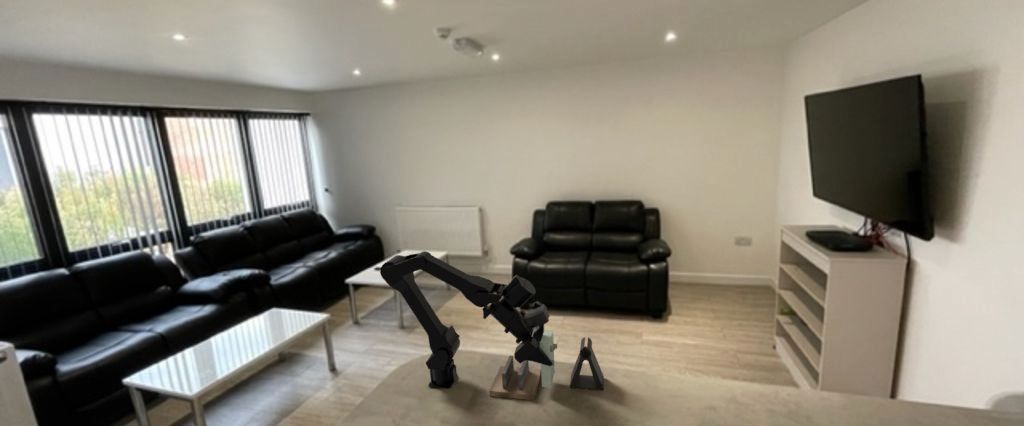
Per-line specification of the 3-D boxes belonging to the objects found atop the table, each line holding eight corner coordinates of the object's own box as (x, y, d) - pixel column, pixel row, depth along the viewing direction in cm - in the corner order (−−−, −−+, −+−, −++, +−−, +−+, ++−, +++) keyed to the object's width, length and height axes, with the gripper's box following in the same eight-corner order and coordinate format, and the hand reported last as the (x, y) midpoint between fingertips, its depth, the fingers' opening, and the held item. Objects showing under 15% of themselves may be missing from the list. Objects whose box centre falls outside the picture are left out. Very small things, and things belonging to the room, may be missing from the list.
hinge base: (489, 395, 113) (488, 375, 112) (501, 370, 124) (499, 351, 123) (534, 400, 110) (533, 379, 109) (541, 373, 122) (540, 354, 120)
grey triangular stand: (603, 377, 118) (603, 338, 116) (603, 390, 112) (602, 349, 110) (571, 375, 120) (570, 336, 118) (569, 388, 114) (568, 347, 112)
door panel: (542, 386, 112) (540, 343, 109) (545, 371, 118) (544, 330, 116) (554, 387, 111) (553, 343, 108) (558, 372, 118) (556, 331, 115)
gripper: (525, 313, 102) (572, 357, 102) (534, 284, 120) (575, 322, 120) (495, 342, 105) (541, 384, 105) (508, 310, 123) (548, 346, 123)
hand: (552, 357), depth 113 cm, fingers closed on door panel, 7 cm apart
